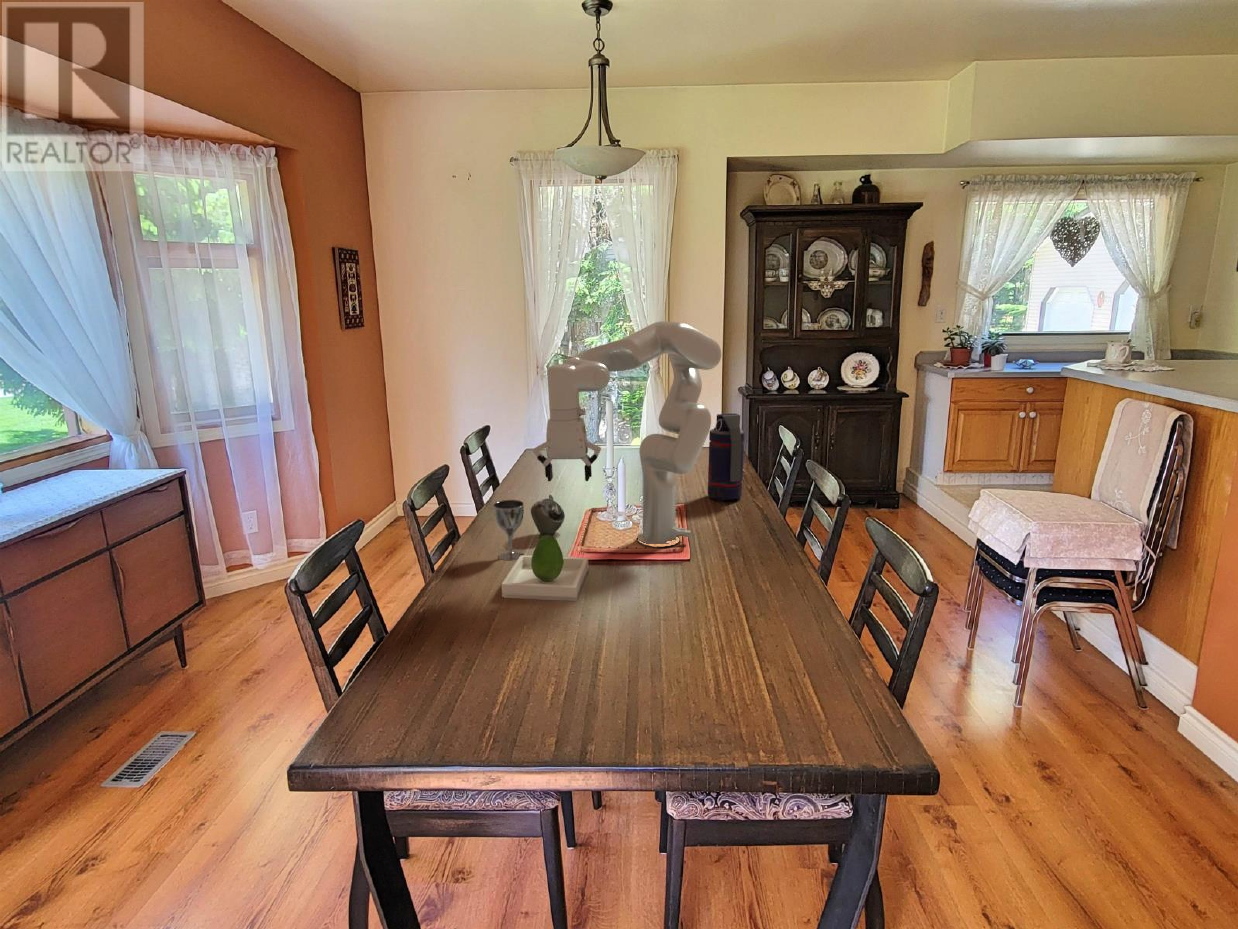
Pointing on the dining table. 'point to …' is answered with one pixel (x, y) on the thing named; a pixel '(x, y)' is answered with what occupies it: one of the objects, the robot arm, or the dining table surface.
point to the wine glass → (509, 523)
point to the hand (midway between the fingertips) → (568, 479)
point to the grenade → (726, 458)
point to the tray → (531, 587)
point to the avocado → (547, 559)
